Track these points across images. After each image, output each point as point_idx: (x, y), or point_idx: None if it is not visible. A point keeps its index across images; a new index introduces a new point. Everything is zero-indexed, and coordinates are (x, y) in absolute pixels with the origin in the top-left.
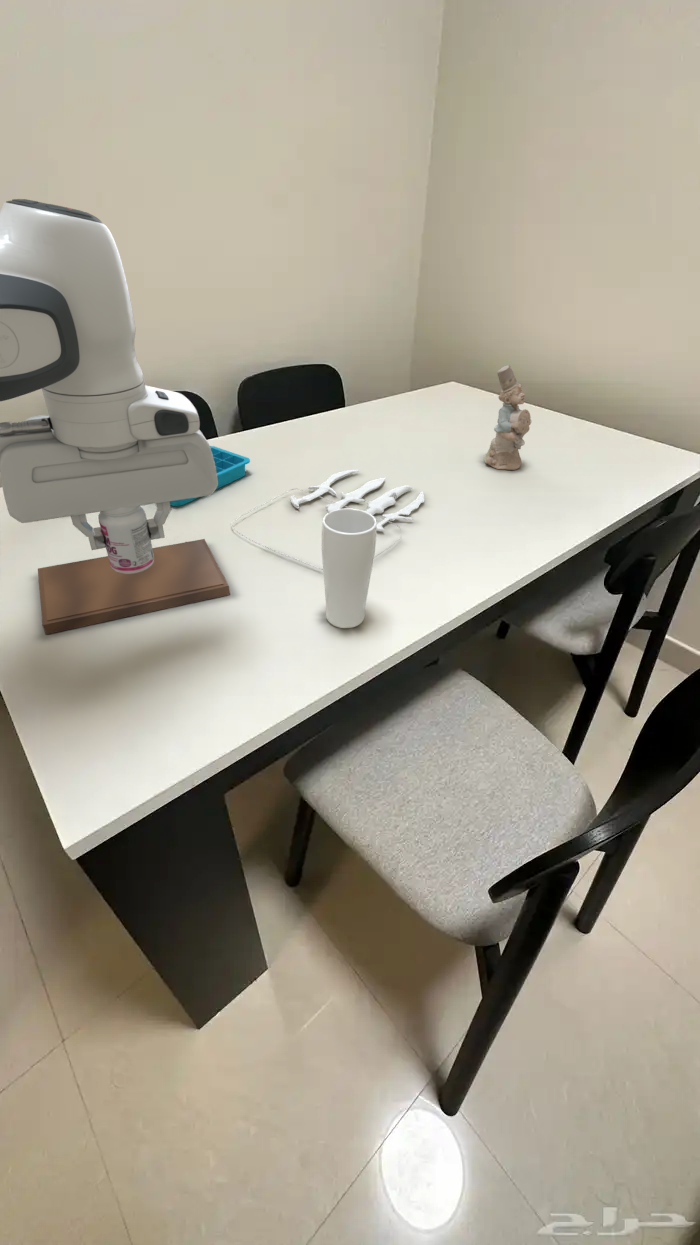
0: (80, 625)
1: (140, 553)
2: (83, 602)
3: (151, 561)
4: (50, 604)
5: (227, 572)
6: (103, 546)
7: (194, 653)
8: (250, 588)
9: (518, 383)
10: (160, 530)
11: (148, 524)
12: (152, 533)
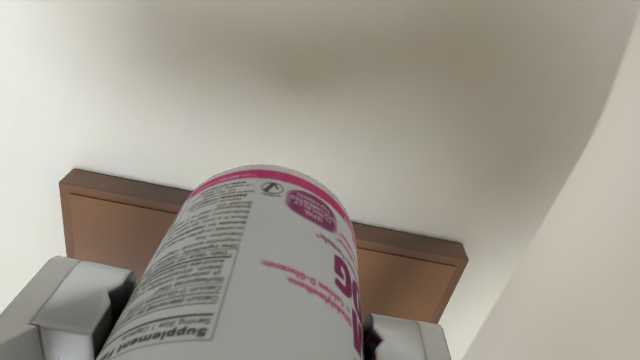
0: (399, 233)
1: (224, 213)
2: (372, 282)
3: (194, 192)
4: (428, 305)
5: (60, 240)
6: (384, 318)
7: (216, 10)
8: (19, 165)
9: None
10: (42, 292)
11: (90, 357)
12: (100, 292)
